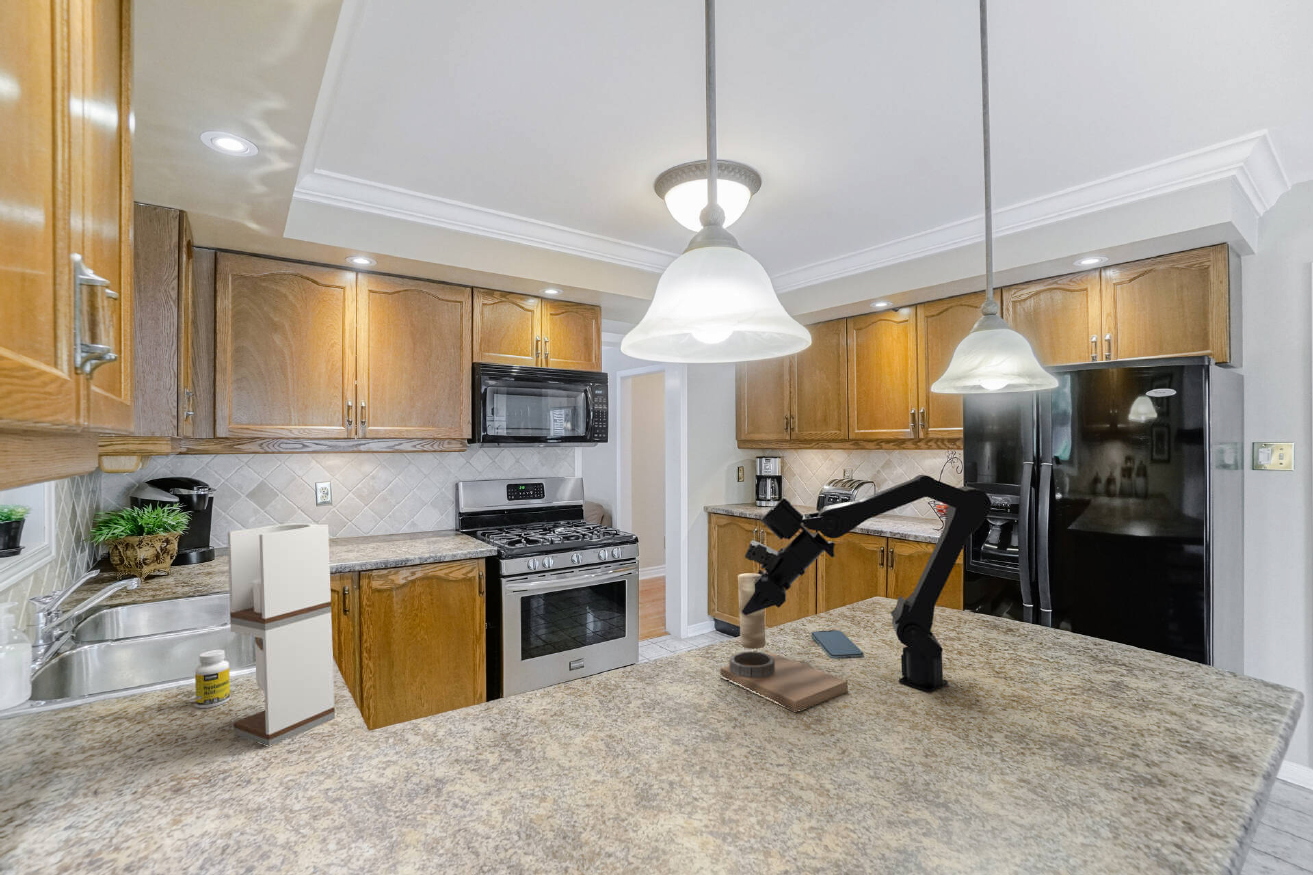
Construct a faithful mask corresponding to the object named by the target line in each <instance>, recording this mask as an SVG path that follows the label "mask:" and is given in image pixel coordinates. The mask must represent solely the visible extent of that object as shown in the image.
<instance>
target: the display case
mask: <svg viewBox="0 0 1313 875" xmlns="http://www.w3.org/2000/svg"><path fill="white" fill-rule="evenodd" d="M329 538H330V535H329V524H320V523H319V524H317V523H316V524H315V523H300V522H290V523H283V524H277V525H270V526H269V525H268V526H262V527H261V526H260V527H254V528H253V527H252V528H248V529H240V530H232V531H227V555H228V556H227V558H228V559H227V560H228V564H227V565H228V585H229V586H228V587H229V589H228V590H229V593H228V594H229V618H230V619H229V620H230V632H231V633H235V634H241V635H245V636H250V637H254V651H255V680H256V684H257V686H258V688H259V689H260V690H261V691H262V692H263V693H264V710H262V711H259V712H257V713H255V714H253V715H250V716H247V717H245V718H242V719H239V720H237V721H234V722H233V735H235V736H237V737H241V738H243V739H245V738H246V740H248V739H249V741H251V740H253V741H252V742H254V741H256V742H260V743H262V744H265V745H268V746H270V745H273V744H275V743H277V742H280V741H282V740H285V741H287V740H286V738H289V739H292V738H293V737H292V736H294V737H296V736H298V735H300V734H303V733H304V732H307V731H309V730H312V729H314V728H316V727H318V726H320V725H323V724H324V723H327V722H329V721H331V720H333V719H335V718H336V717H335V713H336V712H335V685H334V683H335V682H334V657H333V656H334V655H333V651H334V650H333V628H332V627H333V626H332V622H333V621H332V596H331V595H332V594H331V593H332V592H331V591H332V590H331V570H330V569H331V563H330V539H329ZM302 732H303V733H302ZM297 734H298V735H297ZM295 735H296V736H295ZM256 742H255V743H256ZM282 742H283V741H282ZM280 743H281V742H280ZM262 744H261V745H262ZM273 746H274V745H273Z"/></svg>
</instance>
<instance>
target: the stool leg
mask: <svg viewBox="0 0 1313 875" xmlns="http://www.w3.org/2000/svg"><path fill="white" fill-rule="evenodd" d="M760 575H761V574H758V573H755V572H753V573H752V572H750V573H748V572H747V573H741V574H738V575H737V581H738V582H737V583H738V590H737V591H738V610H739V637H740V646H741V648H744V649H750V650H751V649H752V650H758V649H763V648H764V647H765V646H766V626H765V621H766V620H765V609H762V610H759V611H756V612H754V613H751V614H748V615H744V614H743V613H742V610H743V609H744V607H745V605H746V604H747V603H748V601H749V600H750V598H751V597H752V595H753V594H754V592H755V585H754V583H755V580H757V579H758V578H759V576H760Z"/></svg>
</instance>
